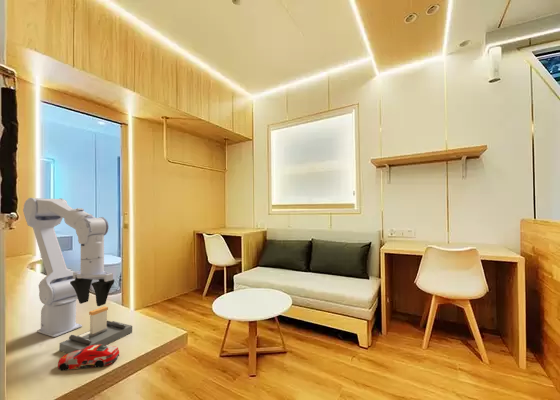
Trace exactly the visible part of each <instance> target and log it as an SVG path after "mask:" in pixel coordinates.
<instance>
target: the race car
mask: <svg viewBox="0 0 560 400" xmlns="http://www.w3.org/2000/svg"><path fill="white" fill-rule="evenodd" d="M119 357H120V350H119V347H118V346H115V345H109V344H107V345H91V346H88V347H86V348H84V349H82V350H78V351H74V352H71V353H65V354H64V355H63V356H62V357H60V358H59V359H58V362H57V369H58V370H59V371H61V372H63V371H68V370H76V369H77V370H78V369H87V368H88V369H89V368H103V367H106V366H108V365H111V364H112V363H114V362H115V361H116V360H117V359H118V358H119Z"/></svg>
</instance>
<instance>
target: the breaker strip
mask: <svg viewBox="0 0 560 400" xmlns="http://www.w3.org/2000/svg"><path fill="white" fill-rule="evenodd" d="M107 327H108V329H107V330H106V331H103V332H101V333H99V334H97V335H94V336H92V337H89V334H90V330H88V331H85V332H83V333H81V334H78V335H74V334H71V335H69V337H68V339H67V340H64V341H61V342H59V351H60V352H62V353H65V354H68V353H71V352H74V351H78V350H82V349H84V348H86V347H88V346H91V345H109V344H112V343H114V342H115V341H118V340H119V339H121V338H124V337H126V336H128V335H129V334H131V333H133V325H132V324H127V323H123V322H118V321H115V320H112V321H111V320H107Z"/></svg>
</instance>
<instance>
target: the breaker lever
mask: <svg viewBox="0 0 560 400" xmlns="http://www.w3.org/2000/svg"><path fill="white" fill-rule="evenodd" d="M108 311H109V307H108V306H104V305H103V306H101V307H98V308H96V309H93V310H90V311H89V312H88V314H89V331H90V334H89V337H92V336H94V335H97V334H99V333H101V332H103V331H106V330H107V329H108V327H107V321H108V320H107V319H108Z"/></svg>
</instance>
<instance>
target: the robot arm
mask: <svg viewBox="0 0 560 400" xmlns="http://www.w3.org/2000/svg"><path fill="white" fill-rule="evenodd" d="M22 210H23V215H24V216H23V217H24V219H25V222H26V224H27V226H29V227H30V228H32V229H33V233H34V236H35V240H36V243H37V245H38V248H39V251H40V256H41V259H42V263H43V266H44V269H45V272H46V276H45V277H43V278H42V280H41V281H40V282H39V284H38V291H39V294H38V296H39V301H40V302H41V303H42V304H43V306H42V307H41V310H40V329H37V330H36V332H37V333H40V334H43V335H46V336H49V337H52V338H56V337H58V336H60V335H64V334H66V333H69V332H71V331H73V330H76V329H79V328H81V327H83V324H80V323H77V300H78V303H79V304H84V303H88V302H89V299H90V290H91V286H92V287H93V290H94V294H95V303H96V306H97V307H100V306H101V307H102V306H104V305H106V304H107V300H108V297H109V294H110V291H111V288H112V286H113V285H114V283H115V279H114V273H111V272H108V271H105V236H106V235H107V234H108V231H109V223H108V220H107V219H106V218H105V217H103V216H100V217H99V216H98V217H95V216H93V214H91V213H88V212H86V211H85V210H84V208H78V207H77V208H73V207H71V206H70V205H69V204H68V202H67V200H65V199H64V198H34V197H28V198H27V199H26V200H25V201H24V205H23V209H22ZM62 220H64V223H65V224H66V225H67V226H69V227H70V228H72V229H74V230H75V233H76V236H77V241H78V244H79V245H80V270H77V271H74V270H71V269H69V268H67V264H66V262H65V261H66V260H65V258H64V255H63V251H62V248H61V246H60V243H59V240H58V237H57V233H56V231H55V227H56V226H59V225H60V224H61V223H62V222H63V221H62ZM93 280H95V281H94V282H93Z"/></svg>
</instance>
